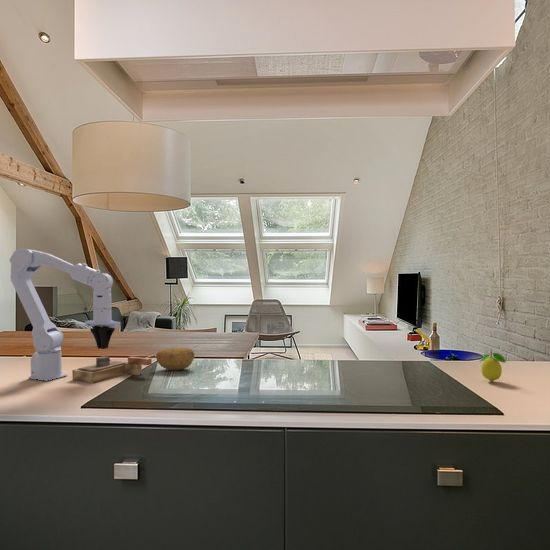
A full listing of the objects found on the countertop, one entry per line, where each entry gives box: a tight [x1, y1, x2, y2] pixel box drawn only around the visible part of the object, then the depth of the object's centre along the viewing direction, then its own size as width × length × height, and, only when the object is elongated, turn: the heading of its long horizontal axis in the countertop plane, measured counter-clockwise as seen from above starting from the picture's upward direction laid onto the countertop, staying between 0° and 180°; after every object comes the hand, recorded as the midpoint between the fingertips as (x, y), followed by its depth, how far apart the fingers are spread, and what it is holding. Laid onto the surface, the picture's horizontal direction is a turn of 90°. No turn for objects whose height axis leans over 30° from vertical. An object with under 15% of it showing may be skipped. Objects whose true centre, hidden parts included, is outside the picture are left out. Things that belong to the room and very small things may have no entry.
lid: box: [78, 355, 127, 372], centre depth 140 cm, size 7×13×3 cm, turn 154°
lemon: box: [479, 350, 507, 383], centre depth 126 cm, size 7×6×10 cm
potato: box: [155, 346, 196, 371], centre depth 148 cm, size 10×14×8 cm
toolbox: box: [71, 359, 143, 384], centre depth 139 cm, size 16×16×4 cm
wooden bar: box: [127, 356, 152, 366], centre depth 141 cm, size 9×2×2 cm, turn 64°
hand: (102, 348), depth 140 cm, fingers closed
